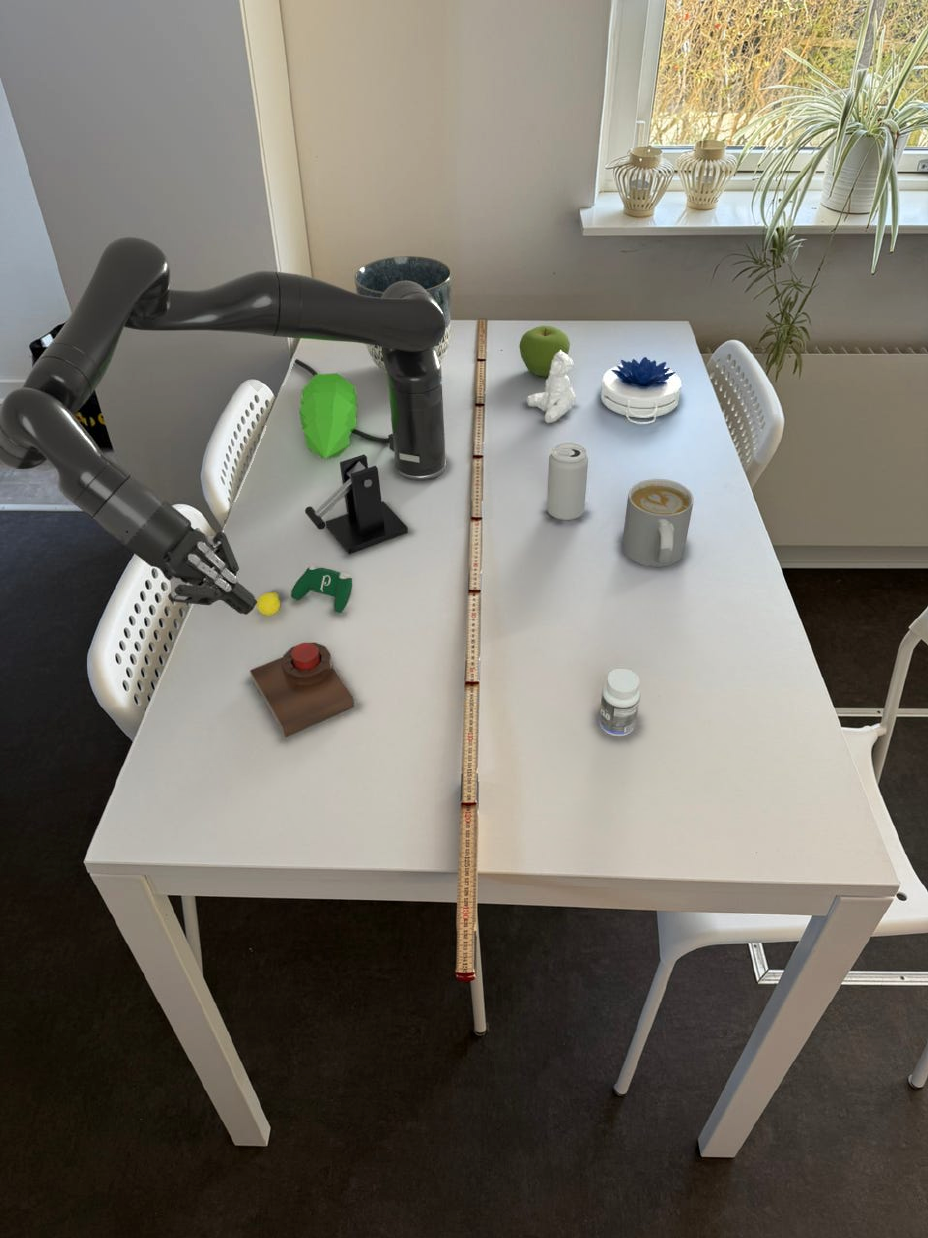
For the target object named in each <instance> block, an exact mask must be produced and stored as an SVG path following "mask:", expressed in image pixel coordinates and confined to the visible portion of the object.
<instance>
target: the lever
mask: <svg viewBox="0 0 928 1238" xmlns="http://www.w3.org/2000/svg"><path fill="white" fill-rule="evenodd" d="M363 469H366V468H365V467H364V466H363V465H362V464H361V463H360V462H358V463H357V464H356V465H355V466H354V467H353V468H352V469H351V470H350V471H349V472H348V473H347V474H348V475H349V477H350V479H349V480H348V481H347V482H345V483H344V484H343V483H342V485H341V486H340V487H339V488H338V489H337V490H335V492H334V493H333V494H331V495H330V497H329V498H327V499H326V501H325V502H323V503H322V504H321V506H320V507H318V508H317V509H314V508H313V506H306V508H305V509H304V512H305V515H306V516H307V517H308V518H309V519H310V521H311V522H312V523H313V525H314V526H315V527H316V528H317V530H324V529H325V528H326V521H324V520H323V519H322V518H323V517H325V516H326V514H328V513H329V512H330V511H331V510H332V509H333V508H334V506H336V504H338V503H339V502H340V501H341V500H342V499H343V498H345V495H346V494H347V493H348V492H349V491H350V490H351V489H352V482H351V473H354V472H357V471H360V470H363Z"/></svg>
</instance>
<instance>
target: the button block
mask: <svg viewBox="0 0 928 1238" xmlns="http://www.w3.org/2000/svg"><path fill="white" fill-rule="evenodd" d="M303 643H304V642H302V643H300V644H303ZM310 643H311V644H314V645H315V646H316V647H317V648H318V652H319V657H320V661H319V664H318V665H317V666H316V667H314V668H312V669H310V670H299V669H297V668H296V667H295V666H294V664H293V660H292V655H291V653H292V650H293V649H294V648H295V647H296V646H297V645H298V644H297V645H293V646H291V647H290V648H289V649H288V650H287V651H286V652H285V653H284V654H283V655H282V657H279V658H277V659H275V660H272V661H270V662H267V663H265V664H262V665H259V666H257V667H254V668H252V669H250V670H249V672H250V675H251V679H252V682H253V683H254V686H255V687H256V689H257V691H258V692H259V694H260V696H261V697H262V700H263V701H264V703H265V705H266V706H267V709H268V710H269V711H270V714H271V716H272V717H273V719H274V720H275V722H276V724H277V725H278V727H279V730H280V731H281V732H282V734H283V736H284V737H285V738H288V737H289V736H292V735H295V734H297V733H298V732H301V731H303V730H306V729H308V728H311V727H312V726H314V725H315V726H316V725H317V724H319V723H321V722H324V721H326V720H328V719H330V718H333V717H335V716H337V715H340V714H341V713H344V712H346V711H348V710H351V709H354V708H355V702H354V697H353V695H352V693H351V691H350V690H349V689H348V687H347V686H346V684H345V683H344V682H343V680H342V678H341V677H340V675H339V673H338V672H337V671H336V669H335V667H333V660H332V655H331V653H330V651H329V650H328V648H327V647H326V645H322V644H320V643H317V642H310Z"/></svg>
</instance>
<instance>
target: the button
mask: <svg viewBox="0 0 928 1238" xmlns="http://www.w3.org/2000/svg"><path fill="white" fill-rule="evenodd" d="M302 643H303V644H301V643H298V644H297V646H296V645H295V646H296V647H295V648H294V649H293V650H292V653H291V655H292V660H293V664H294V666H295V667H296V668H297V669H299V670H310V669H312V668H314V667H316V666H317V665H318V664H319V661H320V657H319V652H318V648H317V647H316V646H315V645H314V644H311V643H312V642H302Z"/></svg>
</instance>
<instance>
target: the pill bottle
mask: <svg viewBox="0 0 928 1238" xmlns="http://www.w3.org/2000/svg"><path fill="white" fill-rule="evenodd" d="M639 687H640V678H639V676H638V675H637V674H636V673H635V672H634V671H632V670H630V669H627V668H616V669H613V670H611V671H610V672H609V673H608V675H607V678H606V681H605V684H604V686H603V689H602V692H601V701H600V709H599V716H598V723H599V726H600V728H601V729H602V731H604V732H605V733H606V734H608V735H610V736H613V737H614V736H615V737H624V736H628V735H629V734H631V733H632V732H633V730H634V729H635V727H636V721H637V716H638V711H639V706H640V705H639V704H640V699H641V692H640V688H639Z"/></svg>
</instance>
